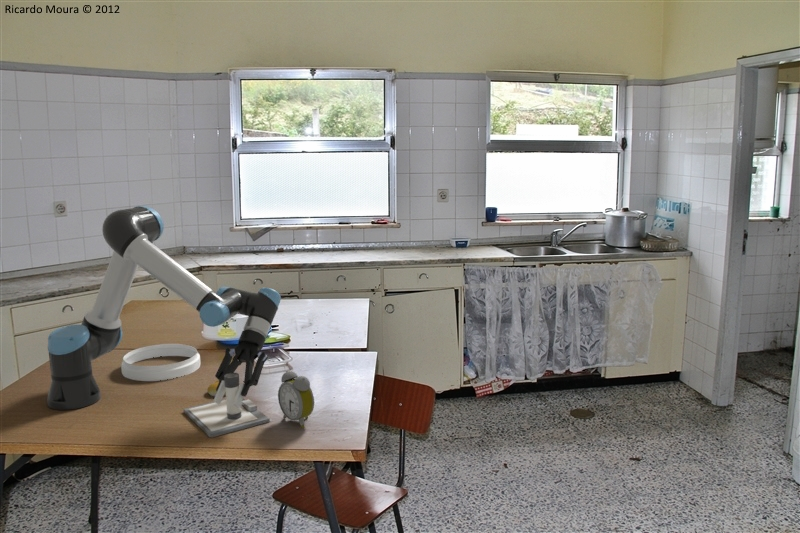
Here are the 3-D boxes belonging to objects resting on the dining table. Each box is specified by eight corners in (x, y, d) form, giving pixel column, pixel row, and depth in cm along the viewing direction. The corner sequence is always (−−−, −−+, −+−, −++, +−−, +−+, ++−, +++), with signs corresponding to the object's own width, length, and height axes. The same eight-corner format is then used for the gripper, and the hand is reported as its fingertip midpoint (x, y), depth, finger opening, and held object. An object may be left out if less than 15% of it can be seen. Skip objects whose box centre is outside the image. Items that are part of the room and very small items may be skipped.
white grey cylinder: (224, 415, 195) (221, 374, 192) (238, 412, 197) (235, 371, 194) (230, 421, 191) (227, 379, 188) (244, 417, 194) (241, 375, 191)
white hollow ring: (149, 387, 221) (148, 372, 220) (107, 370, 237) (105, 356, 236) (215, 366, 242) (215, 352, 241) (172, 352, 258) (171, 338, 257)
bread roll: (202, 395, 214) (202, 383, 213) (220, 386, 222) (219, 375, 221) (223, 399, 211) (223, 387, 210) (240, 389, 219) (239, 378, 218)
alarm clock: (277, 419, 196) (276, 371, 193) (296, 412, 200) (295, 365, 197) (301, 431, 187) (299, 381, 185) (320, 424, 192) (319, 375, 189)
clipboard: (183, 411, 200) (183, 404, 200) (239, 398, 211) (239, 391, 211) (210, 437, 183) (210, 429, 183) (269, 421, 194) (269, 414, 193)
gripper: (286, 343, 202) (259, 413, 190) (233, 337, 208) (204, 405, 196) (276, 331, 196) (249, 403, 184) (222, 325, 202) (192, 394, 190)
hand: (226, 404), depth 190 cm, fingers open, 6 cm apart
